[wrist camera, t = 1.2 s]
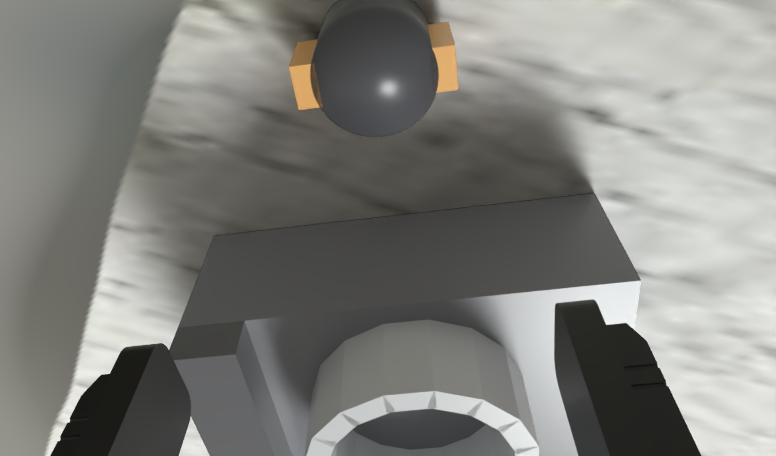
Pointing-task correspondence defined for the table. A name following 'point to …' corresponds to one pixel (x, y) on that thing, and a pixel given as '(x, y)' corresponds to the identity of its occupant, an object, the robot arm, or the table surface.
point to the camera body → (397, 331)
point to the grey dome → (374, 66)
